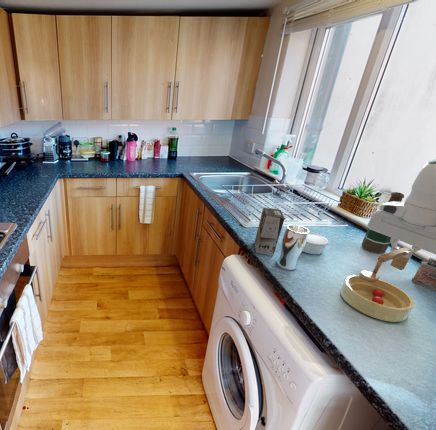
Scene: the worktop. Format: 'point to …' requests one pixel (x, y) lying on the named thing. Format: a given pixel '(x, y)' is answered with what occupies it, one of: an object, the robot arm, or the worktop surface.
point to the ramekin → (315, 243)
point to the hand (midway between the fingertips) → (399, 254)
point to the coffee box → (269, 231)
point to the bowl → (362, 300)
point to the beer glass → (292, 246)
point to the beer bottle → (377, 240)
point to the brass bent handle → (397, 261)
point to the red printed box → (426, 274)
